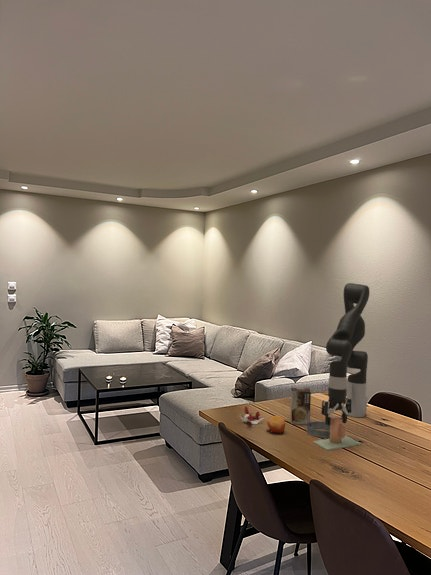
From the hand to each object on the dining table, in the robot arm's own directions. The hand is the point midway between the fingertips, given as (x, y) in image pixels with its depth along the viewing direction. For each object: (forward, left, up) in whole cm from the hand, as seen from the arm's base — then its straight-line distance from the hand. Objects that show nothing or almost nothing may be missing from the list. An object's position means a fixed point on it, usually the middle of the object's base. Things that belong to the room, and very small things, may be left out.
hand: (336, 423), depth 184 cm
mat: (0, +1, -8) cm, 8 cm away
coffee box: (-1, -27, -8) cm, 28 cm away
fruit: (+17, -20, -8) cm, 27 cm away
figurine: (+22, -34, -8) cm, 41 cm away
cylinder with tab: (0, +1, -7) cm, 8 cm away
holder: (-2, -12, -8) cm, 14 cm away
